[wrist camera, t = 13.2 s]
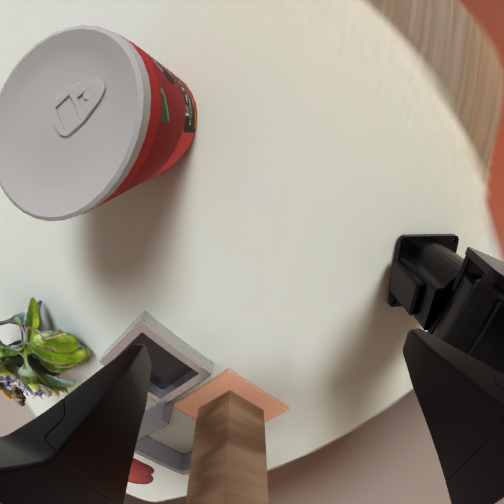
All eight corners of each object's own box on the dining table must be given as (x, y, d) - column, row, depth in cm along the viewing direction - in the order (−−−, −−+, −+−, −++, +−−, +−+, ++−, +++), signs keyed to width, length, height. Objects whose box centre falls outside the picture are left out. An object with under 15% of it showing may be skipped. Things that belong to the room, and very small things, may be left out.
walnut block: (230, 389, 27) (224, 507, 15) (263, 410, 28) (269, 517, 16) (198, 408, 28) (184, 513, 16) (231, 426, 30) (228, 524, 18)
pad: (228, 368, 26) (228, 371, 26) (288, 406, 29) (288, 409, 28) (173, 403, 28) (172, 406, 28) (231, 435, 31) (231, 437, 31)
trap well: (144, 311, 24) (139, 320, 22) (212, 362, 26) (211, 374, 24) (104, 352, 26) (99, 362, 24) (165, 395, 28) (162, 405, 27)
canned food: (223, 120, 18) (193, 102, 8) (143, 200, 20) (59, 263, 10) (151, 51, 16) (69, -7, 6) (79, 132, 18) (-29, 147, 8)
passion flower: (62, 323, 31) (-10, 358, 22) (47, 257, 25) (-44, 295, 16) (107, 388, 27) (26, 436, 18) (94, 329, 21) (-20, 388, 12)
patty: (76, 458, 39) (73, 465, 37) (59, 427, 34) (55, 435, 32) (156, 484, 41) (154, 492, 39) (153, 459, 36) (151, 469, 34)
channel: (166, 399, 28) (160, 419, 25) (237, 438, 31) (237, 457, 29) (122, 425, 31) (116, 442, 28) (185, 458, 34) (183, 474, 31)
